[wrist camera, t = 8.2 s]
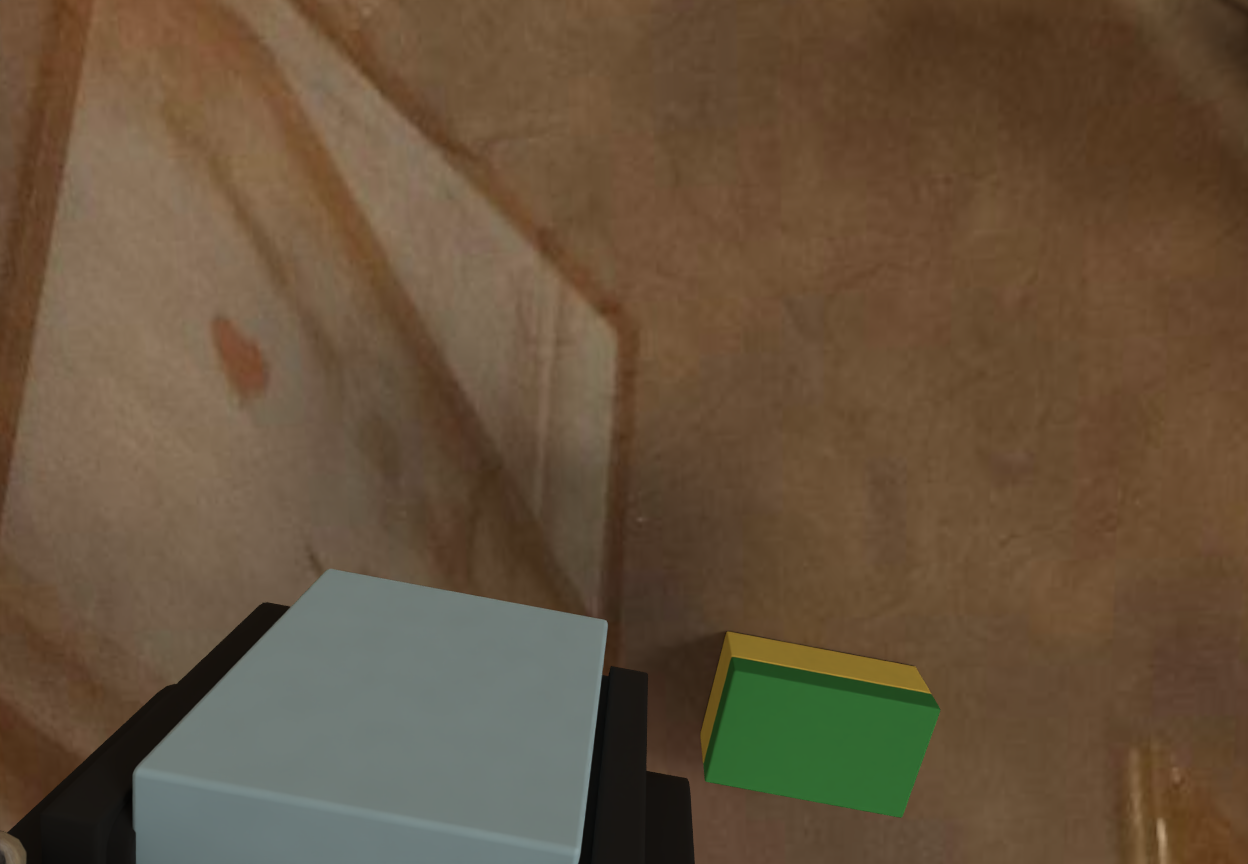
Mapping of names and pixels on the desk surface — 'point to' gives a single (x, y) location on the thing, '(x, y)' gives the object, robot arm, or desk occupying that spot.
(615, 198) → the desk surface
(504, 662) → the ice cube
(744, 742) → the scrubber
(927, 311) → the desk surface
